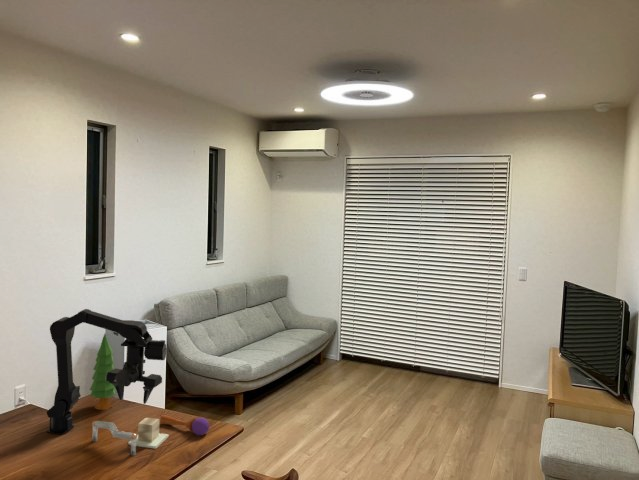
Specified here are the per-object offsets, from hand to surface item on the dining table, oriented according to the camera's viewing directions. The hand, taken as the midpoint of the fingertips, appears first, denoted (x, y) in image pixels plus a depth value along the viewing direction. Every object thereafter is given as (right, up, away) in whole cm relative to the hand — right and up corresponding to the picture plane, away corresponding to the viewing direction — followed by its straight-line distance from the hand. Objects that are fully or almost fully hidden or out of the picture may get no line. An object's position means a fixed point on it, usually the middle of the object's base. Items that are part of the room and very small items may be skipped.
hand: (132, 401), depth 179 cm
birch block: (+7, -11, -5) cm, 14 cm away
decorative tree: (-20, -9, +21) cm, 30 cm away
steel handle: (-3, -12, -10) cm, 16 cm away
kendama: (+17, -12, +5) cm, 21 cm away
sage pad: (+7, -12, -5) cm, 15 cm away
